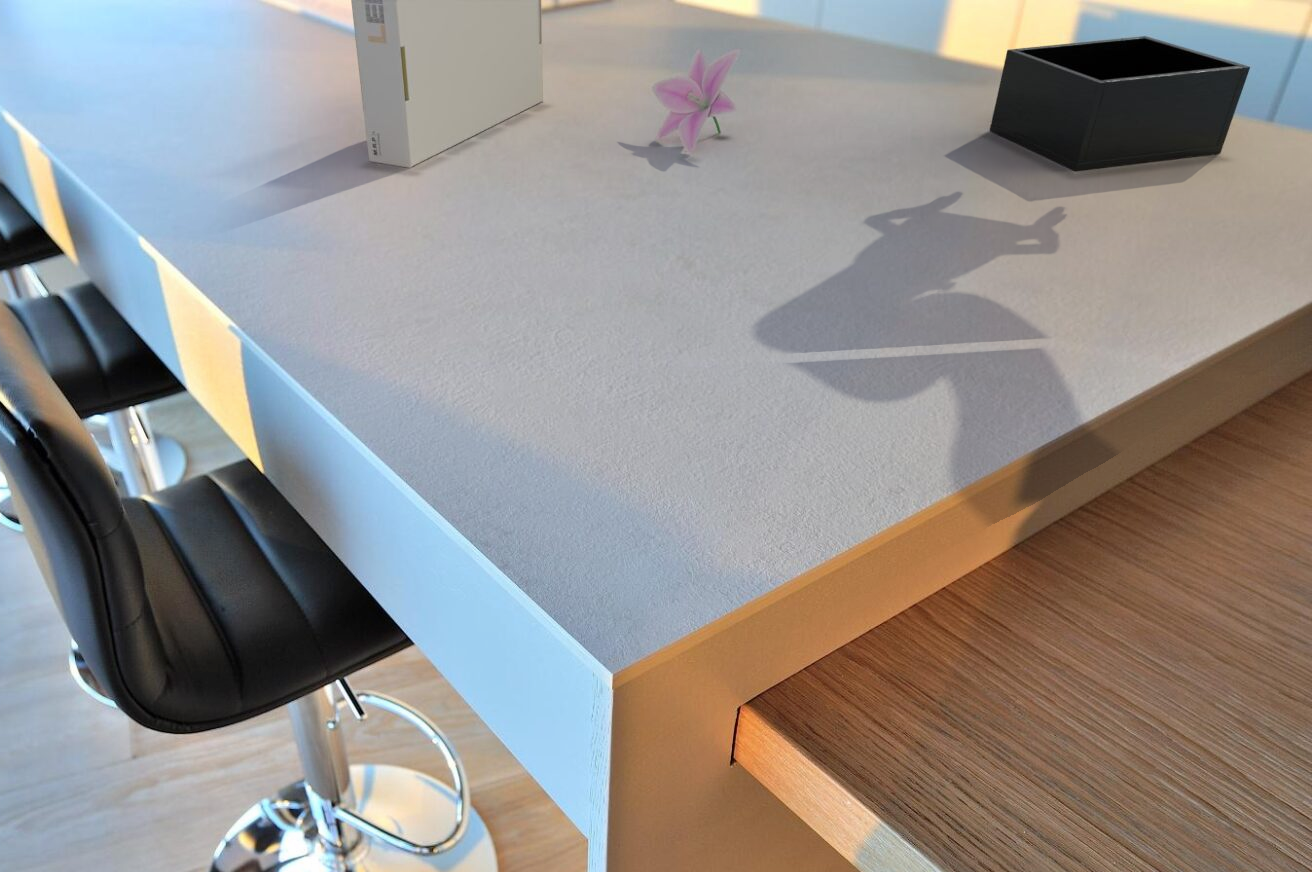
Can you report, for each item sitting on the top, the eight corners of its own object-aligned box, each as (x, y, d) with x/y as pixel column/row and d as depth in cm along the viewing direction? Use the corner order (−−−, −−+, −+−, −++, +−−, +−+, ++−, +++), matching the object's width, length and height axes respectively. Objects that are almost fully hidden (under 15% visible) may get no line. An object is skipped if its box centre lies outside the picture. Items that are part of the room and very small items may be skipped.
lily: (650, 132, 133) (627, 68, 125) (741, 88, 131) (723, 20, 123) (678, 192, 126) (655, 128, 118) (774, 147, 124) (757, 78, 116)
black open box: (1122, 115, 128) (1145, 35, 123) (1220, 153, 116) (1250, 66, 111) (989, 130, 125) (1007, 49, 120) (1075, 171, 113) (1099, 82, 108)
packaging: (504, 96, 145) (498, -73, 133) (543, 101, 142) (541, -71, 131) (367, 161, 124) (346, -33, 113) (411, 168, 122) (393, -30, 110)
